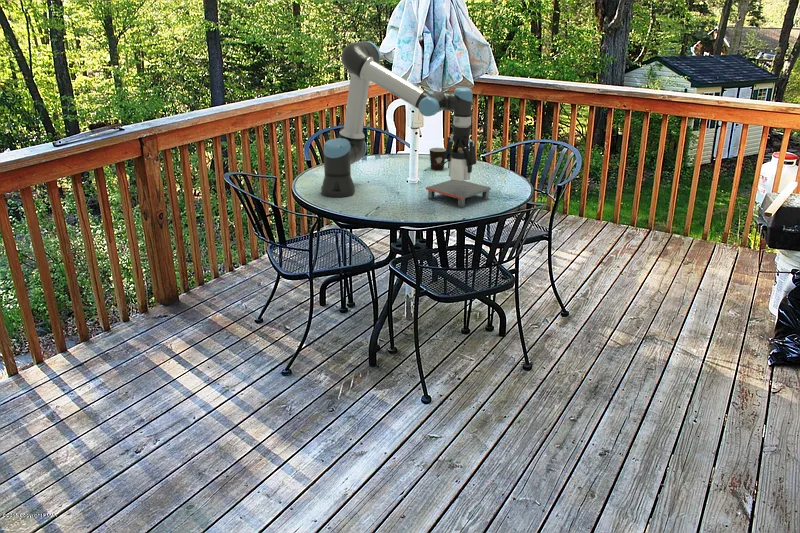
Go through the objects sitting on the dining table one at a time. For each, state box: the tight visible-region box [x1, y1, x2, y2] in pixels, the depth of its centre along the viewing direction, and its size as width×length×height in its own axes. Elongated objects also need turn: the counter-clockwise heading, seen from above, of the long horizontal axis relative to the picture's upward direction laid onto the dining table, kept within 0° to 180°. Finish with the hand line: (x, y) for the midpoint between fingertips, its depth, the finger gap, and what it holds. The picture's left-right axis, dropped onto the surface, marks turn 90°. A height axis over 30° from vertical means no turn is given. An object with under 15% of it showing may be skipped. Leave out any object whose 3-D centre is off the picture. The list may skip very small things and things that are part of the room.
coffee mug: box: [429, 147, 448, 171], centre depth 336 cm, size 12×9×10 cm
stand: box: [425, 179, 492, 208], centre depth 291 cm, size 20×21×5 cm
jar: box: [449, 148, 467, 181], centre depth 286 cm, size 9×8×12 cm
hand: (459, 177), depth 289 cm, fingers closed on jar, 8 cm apart
